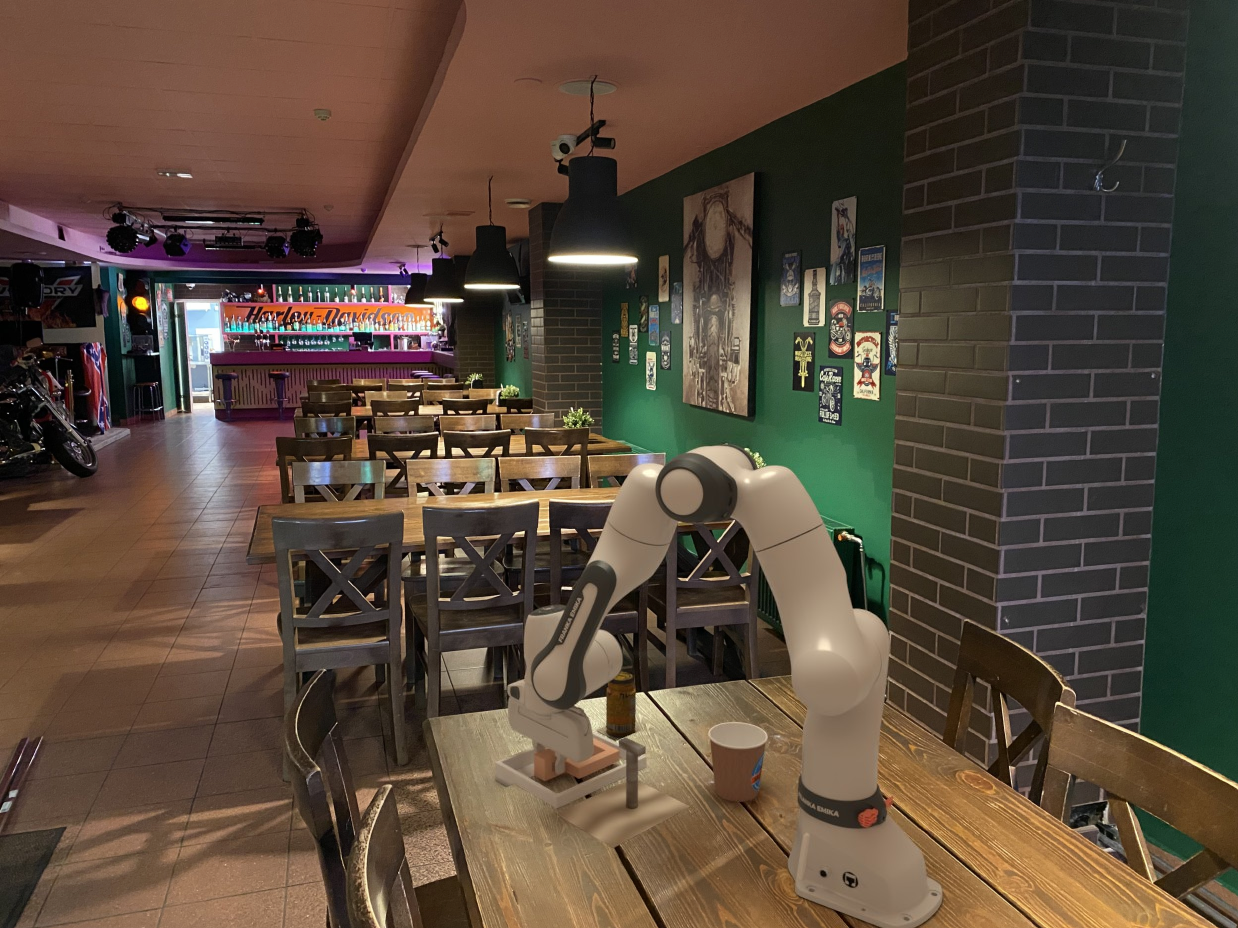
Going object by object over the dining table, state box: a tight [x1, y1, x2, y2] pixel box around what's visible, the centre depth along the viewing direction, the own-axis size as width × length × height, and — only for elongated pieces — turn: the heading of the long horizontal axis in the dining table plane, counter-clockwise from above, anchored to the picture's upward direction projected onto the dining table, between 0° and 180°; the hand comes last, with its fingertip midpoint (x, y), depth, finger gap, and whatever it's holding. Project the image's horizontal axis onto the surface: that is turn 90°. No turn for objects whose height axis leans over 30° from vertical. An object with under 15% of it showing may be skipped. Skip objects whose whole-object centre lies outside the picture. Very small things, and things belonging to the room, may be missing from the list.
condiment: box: [596, 671, 642, 742], centre depth 181 cm, size 7×8×12 cm
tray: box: [494, 730, 647, 809], centre depth 163 cm, size 18×22×4 cm
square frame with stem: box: [534, 738, 621, 782], centre depth 163 cm, size 10×15×4 cm, turn 134°
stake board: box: [555, 737, 691, 849], centre depth 148 cm, size 14×18×13 cm
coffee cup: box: [707, 721, 769, 803], centre depth 155 cm, size 10×10×12 cm
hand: (550, 767), depth 160 cm, fingers closed on square frame with stem, 3 cm apart
